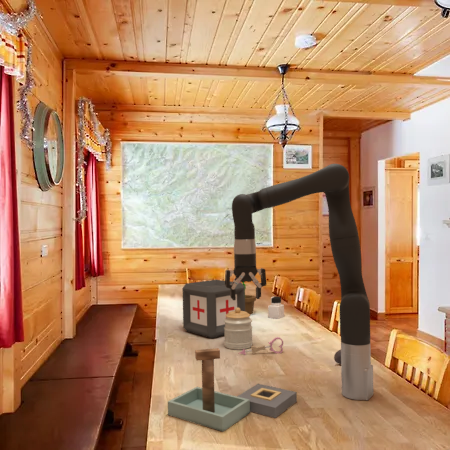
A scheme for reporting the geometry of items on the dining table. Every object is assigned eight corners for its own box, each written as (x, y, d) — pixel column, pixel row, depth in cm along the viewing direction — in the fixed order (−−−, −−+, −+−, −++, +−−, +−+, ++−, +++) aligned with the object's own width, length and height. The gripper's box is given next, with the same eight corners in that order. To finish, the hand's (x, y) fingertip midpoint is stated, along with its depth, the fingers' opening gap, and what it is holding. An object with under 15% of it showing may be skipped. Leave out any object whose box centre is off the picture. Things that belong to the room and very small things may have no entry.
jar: (250, 350, 197) (249, 310, 197) (221, 349, 200) (220, 310, 200) (254, 342, 210) (253, 305, 210) (227, 341, 213) (226, 304, 213)
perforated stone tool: (337, 367, 173) (336, 349, 173) (331, 363, 178) (330, 345, 178) (372, 364, 176) (372, 346, 176) (365, 360, 181) (365, 342, 181)
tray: (250, 413, 134) (249, 399, 133) (222, 431, 122) (222, 417, 122) (197, 398, 145) (196, 386, 145) (167, 414, 133) (167, 401, 133)
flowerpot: (229, 312, 280) (228, 264, 280) (249, 310, 286) (248, 263, 286) (239, 316, 267) (238, 266, 267) (260, 314, 273) (259, 265, 273)
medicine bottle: (284, 316, 265) (284, 296, 265) (279, 319, 259) (278, 298, 259) (273, 315, 269) (273, 295, 269) (268, 317, 263) (267, 297, 263)
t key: (219, 407, 136) (217, 347, 136) (221, 412, 133) (220, 351, 132) (196, 410, 135) (194, 349, 134) (197, 415, 131) (196, 353, 131)
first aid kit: (211, 340, 216) (210, 288, 216) (180, 331, 235) (179, 283, 235) (248, 331, 233) (247, 282, 233) (217, 323, 252) (216, 278, 251)
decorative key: (239, 361, 192) (284, 351, 194) (239, 362, 191) (285, 352, 193) (236, 345, 192) (281, 336, 194) (236, 346, 191) (282, 336, 193)
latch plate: (296, 401, 141) (296, 390, 141) (275, 418, 130) (275, 406, 130) (258, 392, 149) (258, 382, 149) (235, 407, 138) (234, 396, 138)
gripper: (227, 253, 150) (228, 302, 150) (268, 252, 153) (269, 299, 153) (222, 252, 157) (223, 298, 157) (261, 250, 160) (262, 296, 160)
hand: (245, 299), depth 155 cm, fingers open, 8 cm apart
